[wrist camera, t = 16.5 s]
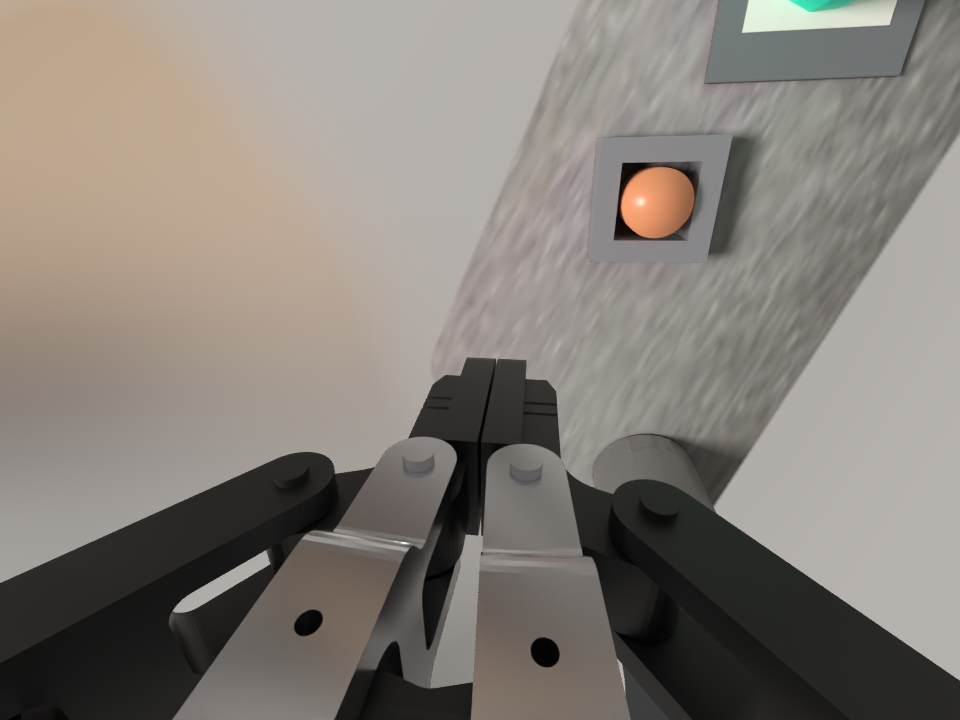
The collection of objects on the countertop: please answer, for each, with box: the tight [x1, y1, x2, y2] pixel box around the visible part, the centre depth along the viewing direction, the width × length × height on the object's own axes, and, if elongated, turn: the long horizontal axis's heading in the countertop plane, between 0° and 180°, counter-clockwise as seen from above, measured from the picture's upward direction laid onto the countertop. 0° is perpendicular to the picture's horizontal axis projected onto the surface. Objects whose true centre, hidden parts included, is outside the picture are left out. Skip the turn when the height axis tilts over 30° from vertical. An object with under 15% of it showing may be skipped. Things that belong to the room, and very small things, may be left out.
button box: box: [587, 134, 733, 263], centre depth 30 cm, size 8×8×2 cm
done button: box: [617, 166, 694, 238], centre depth 30 cm, size 4×4×3 cm
